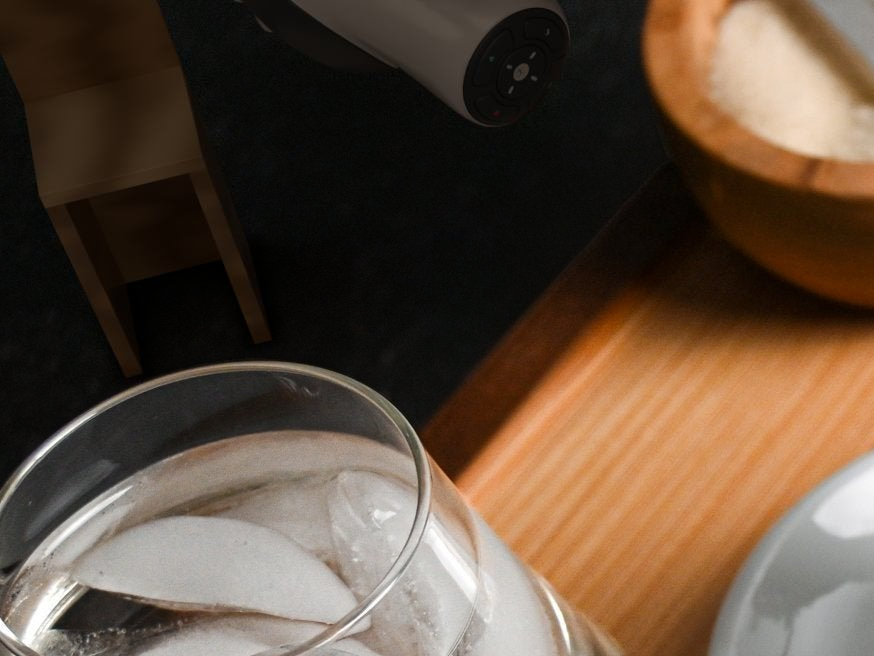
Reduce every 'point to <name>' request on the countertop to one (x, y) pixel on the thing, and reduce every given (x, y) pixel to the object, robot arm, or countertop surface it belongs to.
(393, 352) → the countertop surface
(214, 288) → the countertop surface
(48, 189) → the wooden chair
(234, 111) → the countertop surface
